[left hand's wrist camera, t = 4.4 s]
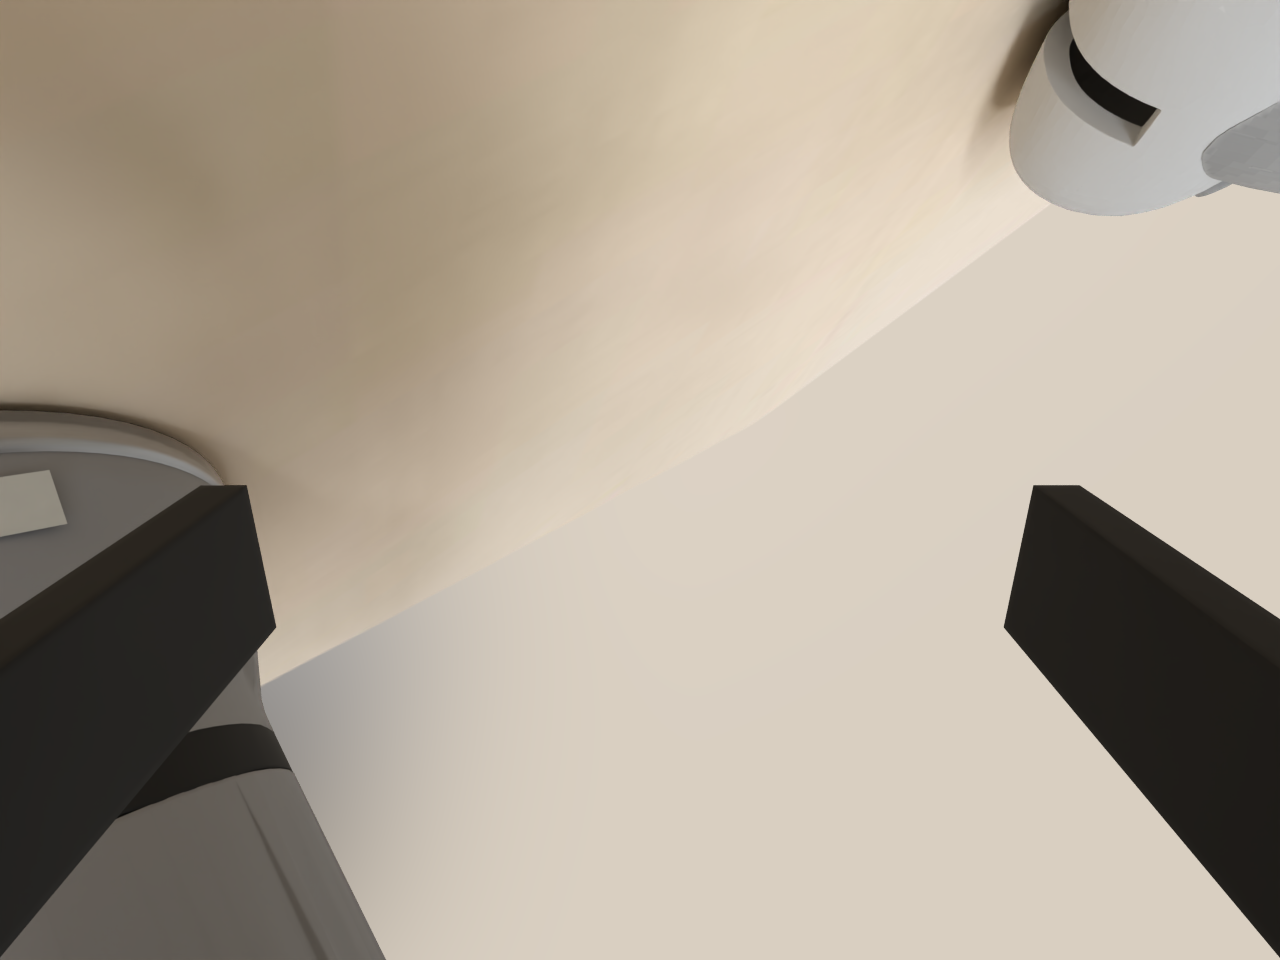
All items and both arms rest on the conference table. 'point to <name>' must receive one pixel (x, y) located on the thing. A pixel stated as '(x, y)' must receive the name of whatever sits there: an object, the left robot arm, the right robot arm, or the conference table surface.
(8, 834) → the left robot arm
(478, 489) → the conference table surface
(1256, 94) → the projector
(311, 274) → the conference table surface
